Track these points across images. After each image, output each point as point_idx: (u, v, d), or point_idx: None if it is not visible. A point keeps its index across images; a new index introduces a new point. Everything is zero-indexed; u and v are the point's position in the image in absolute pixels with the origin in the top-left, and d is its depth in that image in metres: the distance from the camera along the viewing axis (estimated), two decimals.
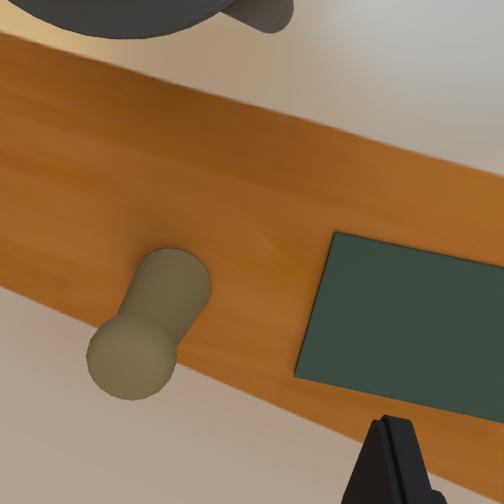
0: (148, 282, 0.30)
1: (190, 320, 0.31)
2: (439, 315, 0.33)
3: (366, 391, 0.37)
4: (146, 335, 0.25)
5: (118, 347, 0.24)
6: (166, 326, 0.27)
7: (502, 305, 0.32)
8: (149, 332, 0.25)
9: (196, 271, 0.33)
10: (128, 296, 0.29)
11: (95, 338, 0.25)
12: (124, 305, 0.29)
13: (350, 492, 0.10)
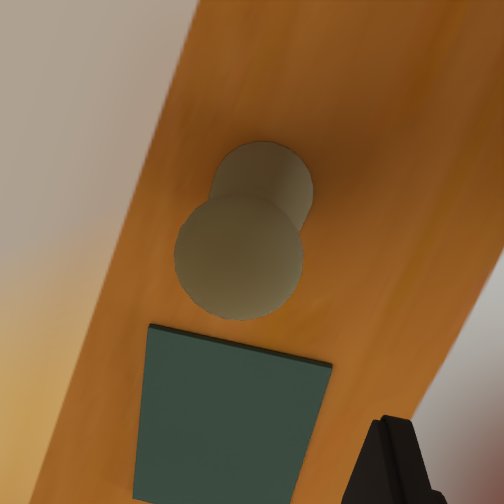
0: (301, 213, 0.22)
1: None
2: (245, 448, 0.34)
3: (143, 394, 0.33)
4: (288, 297, 0.18)
5: (279, 275, 0.16)
6: None
7: (259, 487, 0.36)
8: None
9: None
10: (288, 195, 0.21)
11: (282, 228, 0.16)
12: (285, 203, 0.20)
13: (350, 492, 0.10)
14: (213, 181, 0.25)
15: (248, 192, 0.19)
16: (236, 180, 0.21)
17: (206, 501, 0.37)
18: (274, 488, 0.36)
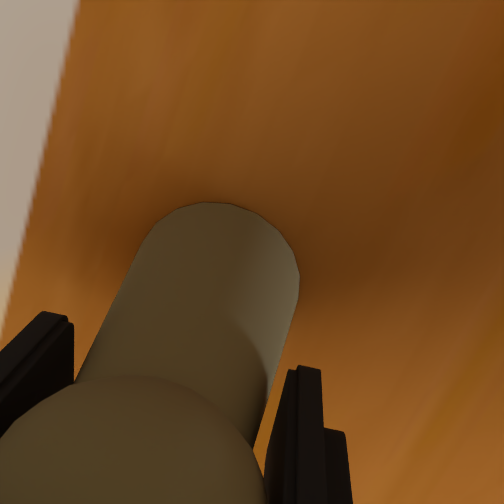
0: (275, 352, 0.12)
1: None
2: None
3: None
4: None
5: None
6: None
7: None
8: None
9: None
10: (247, 333, 0.11)
11: None
12: (238, 362, 0.10)
13: (272, 438, 0.11)
14: None
15: (155, 351, 0.09)
16: (143, 306, 0.10)
17: None
18: None
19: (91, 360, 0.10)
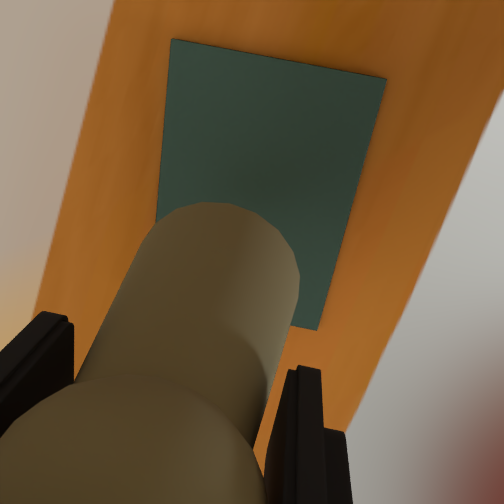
0: (275, 352, 0.12)
1: None
2: (280, 209, 0.30)
3: (164, 140, 0.29)
4: None
5: None
6: None
7: None
8: None
9: None
10: (247, 333, 0.11)
11: None
12: (238, 362, 0.10)
13: (271, 438, 0.11)
14: None
15: (155, 351, 0.09)
16: (143, 306, 0.10)
17: None
18: (312, 265, 0.31)
19: (91, 360, 0.10)
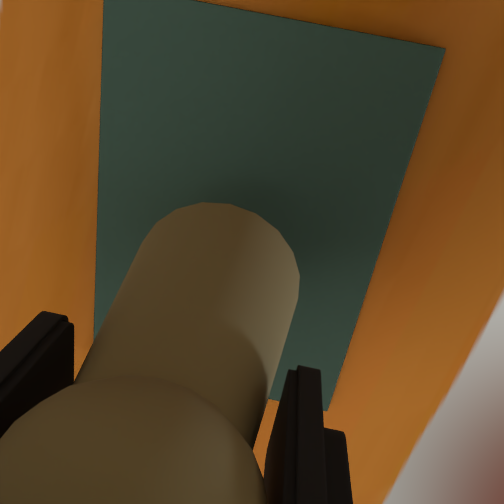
0: (275, 352, 0.12)
1: None
2: None
3: (102, 143, 0.19)
4: None
5: None
6: None
7: (298, 325, 0.22)
8: None
9: None
10: (247, 333, 0.11)
11: None
12: (237, 363, 0.10)
13: (272, 438, 0.11)
14: None
15: (155, 352, 0.09)
16: (143, 307, 0.10)
17: None
18: (323, 324, 0.22)
19: (91, 360, 0.10)
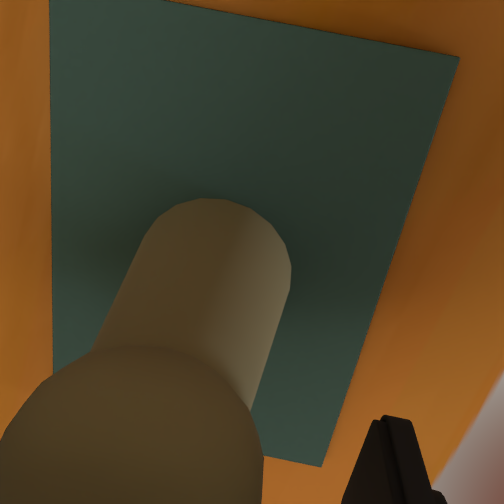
0: (269, 332, 0.13)
1: None
2: None
3: (54, 168, 0.16)
4: None
5: None
6: None
7: (287, 373, 0.19)
8: None
9: None
10: (243, 313, 0.12)
11: (210, 456, 0.07)
12: (235, 337, 0.11)
13: (350, 493, 0.10)
14: None
15: (162, 326, 0.10)
16: (149, 289, 0.12)
17: None
18: (315, 373, 0.19)
19: (103, 336, 0.11)
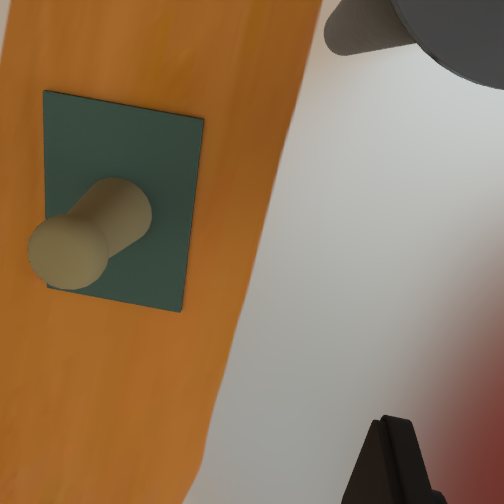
0: (127, 224, 0.34)
1: None
2: None
3: (45, 165, 0.38)
4: (97, 274, 0.30)
5: (84, 260, 0.29)
6: None
7: (157, 261, 0.40)
8: (99, 273, 0.30)
9: (136, 240, 0.39)
10: (112, 214, 0.33)
11: (85, 234, 0.29)
12: (106, 219, 0.32)
13: (350, 492, 0.10)
14: None
15: (80, 213, 0.32)
16: (78, 205, 0.33)
17: (112, 282, 0.42)
18: (169, 260, 0.40)
19: None
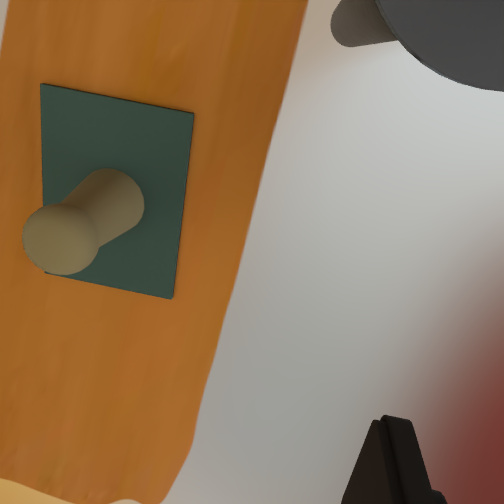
0: (118, 214, 0.36)
1: None
2: None
3: (43, 155, 0.39)
4: (87, 261, 0.32)
5: (75, 247, 0.30)
6: None
7: (149, 249, 0.42)
8: (90, 260, 0.32)
9: (129, 229, 0.40)
10: (104, 203, 0.35)
11: (75, 222, 0.30)
12: (98, 209, 0.34)
13: (350, 492, 0.10)
14: None
15: (72, 202, 0.33)
16: (72, 195, 0.35)
17: (106, 269, 0.43)
18: (161, 248, 0.42)
19: None
